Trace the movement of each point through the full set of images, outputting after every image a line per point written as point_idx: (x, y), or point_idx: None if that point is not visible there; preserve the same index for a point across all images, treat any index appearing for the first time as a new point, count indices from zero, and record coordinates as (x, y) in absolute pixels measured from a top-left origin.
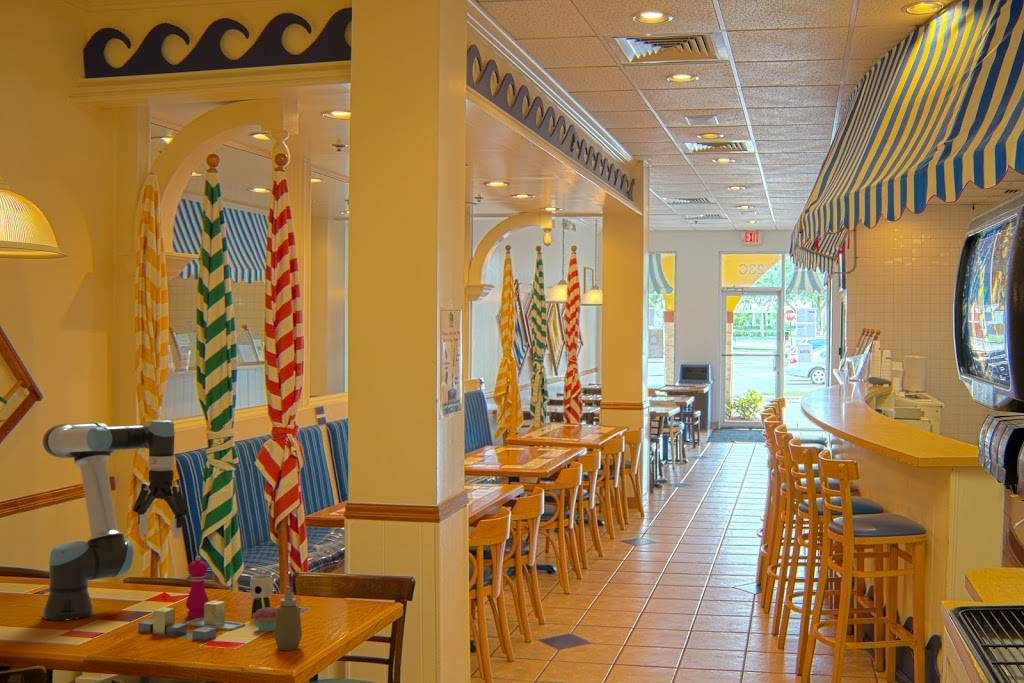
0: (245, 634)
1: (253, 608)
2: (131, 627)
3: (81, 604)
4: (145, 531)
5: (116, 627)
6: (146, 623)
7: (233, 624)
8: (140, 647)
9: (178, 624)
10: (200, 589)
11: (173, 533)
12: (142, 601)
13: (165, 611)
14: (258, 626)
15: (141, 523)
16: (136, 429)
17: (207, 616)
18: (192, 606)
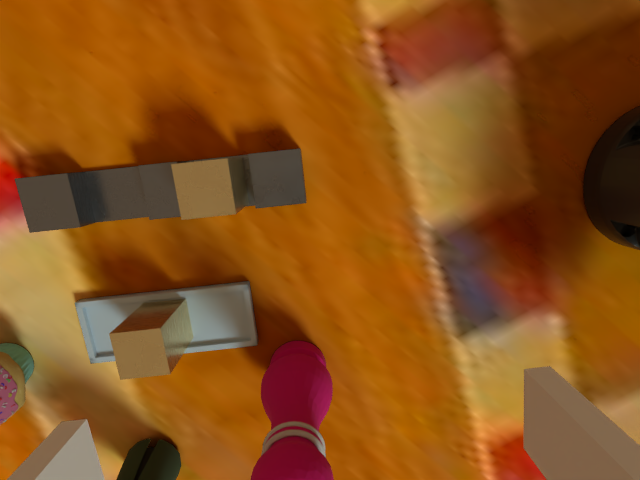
0: (23, 302)
1: (150, 457)
2: (368, 182)
3: (626, 176)
4: (540, 447)
5: (408, 157)
6: (269, 157)
7: None
8: (146, 24)
9: (171, 204)
10: (271, 416)
11: (44, 463)
12: None
13: (173, 169)
14: (7, 348)
15: (627, 475)
16: None
17: (162, 311)
18: (283, 357)
